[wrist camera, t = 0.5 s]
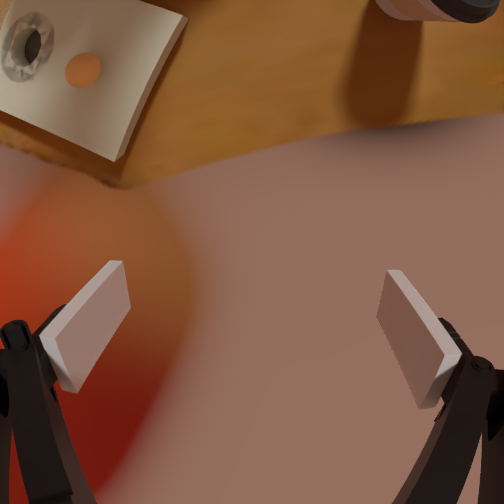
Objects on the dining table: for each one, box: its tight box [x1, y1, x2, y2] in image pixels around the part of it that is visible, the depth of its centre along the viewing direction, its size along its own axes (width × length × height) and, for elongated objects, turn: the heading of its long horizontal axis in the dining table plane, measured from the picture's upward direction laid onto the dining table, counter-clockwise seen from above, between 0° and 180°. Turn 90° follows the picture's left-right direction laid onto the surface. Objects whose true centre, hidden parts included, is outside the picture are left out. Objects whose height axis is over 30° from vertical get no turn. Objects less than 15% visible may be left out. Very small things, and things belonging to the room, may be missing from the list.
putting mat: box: [0, 0, 189, 162], centre depth 27 cm, size 18×24×3 cm
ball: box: [65, 52, 101, 88], centre depth 26 cm, size 4×4×4 cm
